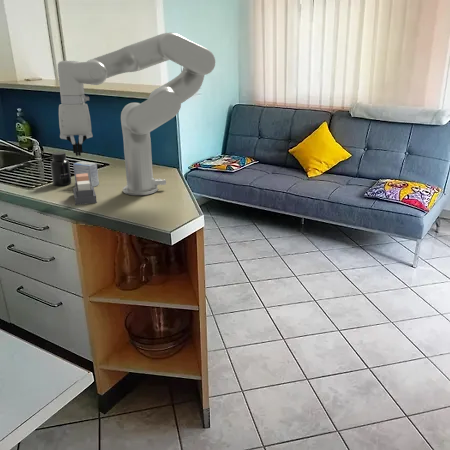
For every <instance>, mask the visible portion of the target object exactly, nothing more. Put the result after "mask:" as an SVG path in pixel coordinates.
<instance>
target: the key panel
mask: <svg viewBox="0 0 450 450" xmlns="http://www.w3.org/2000/svg"><path fill="white" fill-rule="evenodd" d="M90 189H91V190H83V191H78V186H77V183H76V182H74V187H73V188H72V190H73V197H74V204H75V206H78V205H79V206H80V205H89V204H97V203H98V201H97V194H96V192H95V187H93V186H92V185H91V182H90Z"/></svg>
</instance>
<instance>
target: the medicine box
mask: <svg viewBox="0 0 450 450" xmlns="http://www.w3.org/2000/svg"><path fill="white" fill-rule="evenodd" d="M73 172H74V180H75V181H74V183H77V180H76V174H84V173H88V177H89V182H91V185H92V186H93V187H94V188H95V187H97V186H100V181H99V172H98V164H97V162H89V161H77V162H74V163H73Z"/></svg>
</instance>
